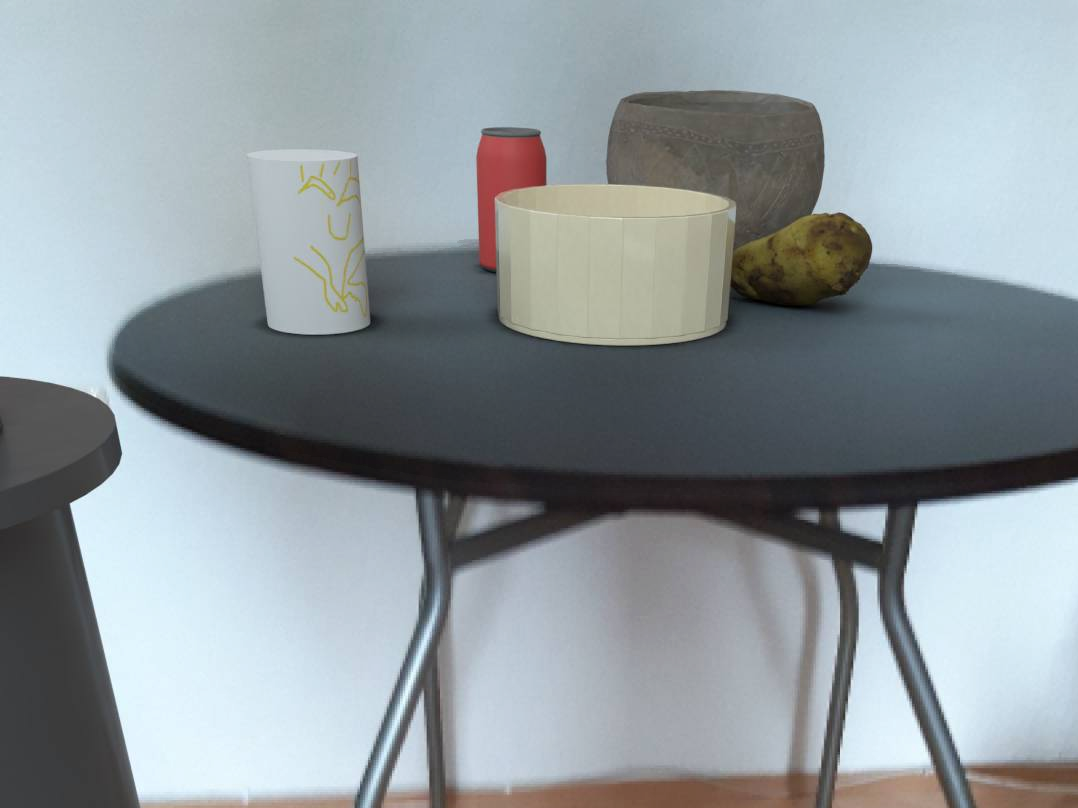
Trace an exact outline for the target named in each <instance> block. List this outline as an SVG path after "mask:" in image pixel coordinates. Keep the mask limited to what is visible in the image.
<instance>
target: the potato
mask: <svg viewBox="0 0 1078 808" xmlns="http://www.w3.org/2000/svg"><path fill="white" fill-rule="evenodd" d="M872 254H873V242H872V239H871V236H870V233H868V231H867V229H866V228H865V227H864V226H863V224H861V223H860V222H858V221H856V220H855V219H854V218H853V217H851V216H849V215H848V214H846V213H844V212H839V211H838V212H836V213H828V212H824V213H812V214H811V215H808V216H805V217H802V218H800V219H798V220H796V221H794V222H793V223H792V224H790V225H788V226H787V227H785V228H783V229H781V230H779V231H777V232H775V233H773V234H771V235H767V236H766V237H763V238H761V239H757V240H754V241H752V242H749V243H747V244H745V245H743V246H741V247H739V248H737V249H736V250H735V251H734V252H733V256H732V268H731V281H730V288H731V289H732V290H733V291H734V292H736V293H737V294H738V295H739V296H742V297H744V298H746V299H748V300H758V301H762V302H766V303H771V304H774V305H780V306H790V307H801V306H810V305H813V304H816V303H819V302H821V301H822V300H824V299H828V298H833V297H837V296H844V295H846V294H847V293H848V292H849V291H850V289H851V288H852V287H854V286H855V284H858V282H859V281H860V280H861V277H862V275H863V274H864V272H866V270H867V269H868V268H869V265H870V262H871V259H872Z"/></svg>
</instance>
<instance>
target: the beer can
mask: <svg viewBox="0 0 1078 808" xmlns="http://www.w3.org/2000/svg"><path fill="white" fill-rule="evenodd" d="M480 133H481V137H480V139H479V142H478V145H477V152H476V156H475V157H476V160H475V163H476V191H477V193H476V194H477V227H478V258H479V260H478V261H479V264H480V266H481V267H482V268H483V269H484V270H486V271H488V272H490V273H494V274H497V272H496V229H495V197H496V196H497V195H498V194H500V193H502V192H506V191H509V190H513V189H519V188H526V187H533V186H546V185H548V184H547V154H546V149H545V146H544V143H543V140H542V137H541V134H542V131H541V130H540V129H537V128H530V127H516V126H515V127H512V126H500V127H499V126H498V127H497V126H496V127H484V128H482V129H481V130H480Z"/></svg>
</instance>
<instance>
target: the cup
mask: <svg viewBox="0 0 1078 808" xmlns="http://www.w3.org/2000/svg"><path fill="white" fill-rule="evenodd" d="M358 159H359V157H358V154H356V153H354V152H349V151H345V150H344V151H343V150H332V149H311V148H310V149H309V148H308V149H307V148H286V149H282V148H281V149H269V150H268V149H266V150H259V151H258V150H257V151H252V152H248V153H247V154H246V161H247V168H248V177H249V185H250V192H251V201H252V208H253V217H254V224H255V233H256V234H255V235H256V241H257V249H258V257H259V266H260V272H261V280H262V289H263V297H264V305H265V312H266V322H267V326H268V327H269V328H270V329H272V330H274V331H278V332H281V333H286V334H288V333H289V334H295V335H312V336H313V335H317V336H319V335H321V336H322V335H335V334H345V333H351V332H355V331H360V330H362V329H365V328H367V327H368V326H370V325H371V313H370V311H371V310H370V299H369V287H368V286H369V285H368V275H367V274H368V273H367V261H366V249H365V234H364V222H363V213H362V212H363V210H362V198H361V197H362V196H361V185H360V173H359V160H358Z"/></svg>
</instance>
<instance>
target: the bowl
mask: <svg viewBox="0 0 1078 808" xmlns="http://www.w3.org/2000/svg"><path fill="white" fill-rule="evenodd" d="M823 129H824V128H823V125H822V119H821V116H820V113H819V112H818V110H817V108H816V106H815V105H814V103H812V102H810V101H808V100H804V99H801V98H797V97H792V96H788V95H784V94H779V93H770V92H769V93H766V92H756V91H745V90H724V89H723V90H720V89H717V90H716V89H713V90H712V89H710V90H709V89H708V90H688V91H685V90H683V91H682V90H670V91H669V90H668V91H667V90H666V91H643V92H638V93H633V94H630V95H627V96H625V97H622V98H620V100H619V102H618V104H617V106H616V109H615V110H614V114H613V117H612V120H611V124H610V127H609V132H608V137H607V146H606V147H607V148H606V159H605V165H606V172H605V173H606V178H607V184H623V185H644V186H658V187H670V188H679V189H688V190H694V191H700V192H706V193H711V194H716V195H719V196H723V197H727V198H729V199H731V200H733V201H735V202H736V218H735V230H734V243H733V252H734V251H735V250H736V249H737V248H739V247H741V246H743V245H745V244H747V243H749V242H752V241H754V240H757V239H761V238H763V237H766V236H767V235H771V234H773V233H775V232H777V231H779V230H781V229H783V228H785V227H787V226H788V225H790V224H792V223H793V222H794V221H796V220H798V219H800V218H802V217H805V216H808V215H813V212H814V211H815V208H816V206H817V203H818V201H819V198H820V195H821V191H822V187H823V180H824V173H825V164H826V163H825V159H826V158H825V157H826V154H825V138H824V132H823Z"/></svg>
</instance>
